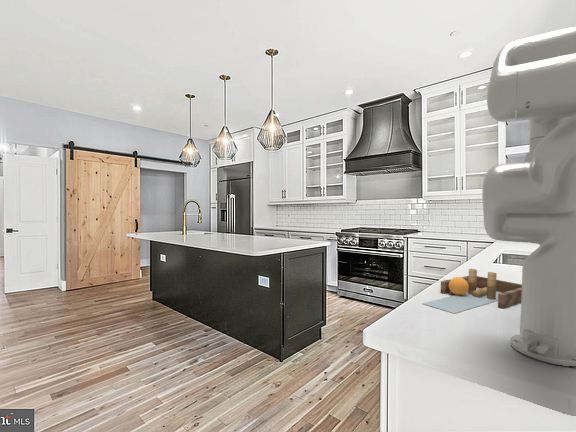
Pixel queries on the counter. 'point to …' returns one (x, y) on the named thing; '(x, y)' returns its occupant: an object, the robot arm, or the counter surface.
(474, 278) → the pin left
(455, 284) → the ball
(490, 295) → the pin right
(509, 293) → the fence
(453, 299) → the lane
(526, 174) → the robot arm
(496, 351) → the counter surface
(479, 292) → the pin front
